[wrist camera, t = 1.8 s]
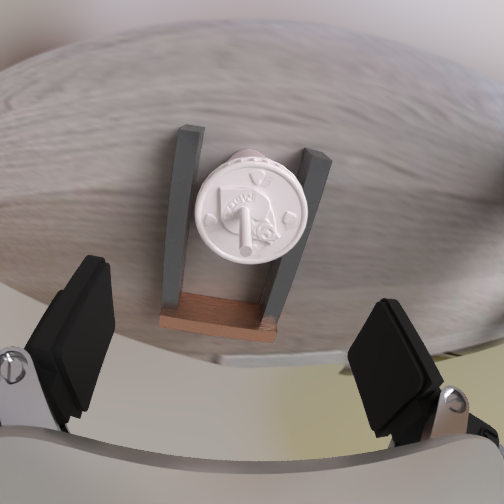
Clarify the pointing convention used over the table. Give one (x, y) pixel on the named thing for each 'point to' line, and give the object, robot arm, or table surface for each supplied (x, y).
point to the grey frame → (179, 212)
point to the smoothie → (251, 209)
